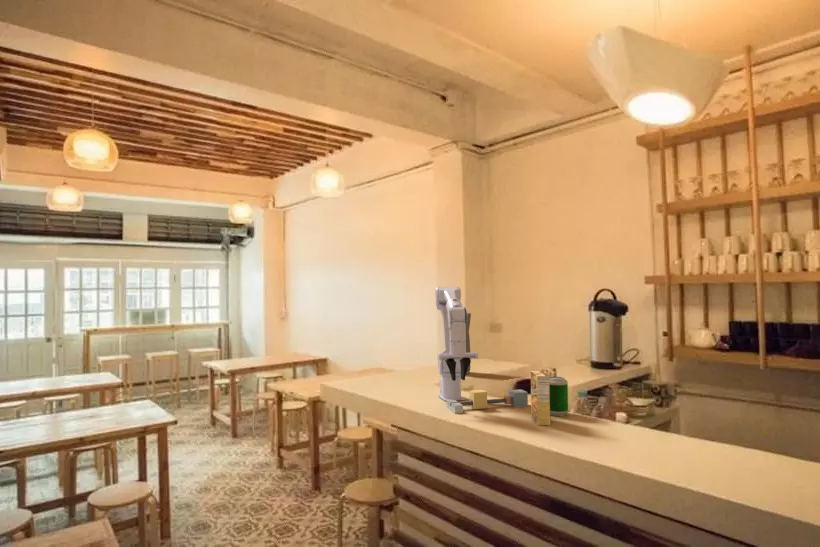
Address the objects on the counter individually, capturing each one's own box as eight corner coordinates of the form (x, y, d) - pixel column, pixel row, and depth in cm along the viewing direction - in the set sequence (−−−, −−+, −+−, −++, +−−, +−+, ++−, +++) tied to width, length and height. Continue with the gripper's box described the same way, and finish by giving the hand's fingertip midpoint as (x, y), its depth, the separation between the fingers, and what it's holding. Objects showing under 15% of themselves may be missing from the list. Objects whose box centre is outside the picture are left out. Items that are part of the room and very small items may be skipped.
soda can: (569, 417, 160) (568, 380, 160) (545, 416, 161) (545, 379, 161) (567, 411, 167) (566, 376, 167) (544, 410, 168) (543, 375, 169)
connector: (504, 404, 178) (504, 390, 178) (521, 403, 180) (520, 389, 180) (511, 407, 173) (510, 393, 174) (527, 406, 175) (527, 392, 175)
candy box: (530, 418, 159) (529, 370, 160) (543, 417, 159) (542, 370, 160) (537, 425, 150) (536, 375, 151) (551, 425, 150) (550, 375, 151)
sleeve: (469, 406, 174) (469, 390, 174) (482, 405, 175) (482, 389, 176) (474, 409, 170) (473, 392, 170) (487, 408, 172) (487, 391, 172)
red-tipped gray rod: (453, 409, 169) (453, 401, 169) (450, 407, 172) (450, 399, 172) (513, 404, 175) (513, 397, 175) (510, 402, 177) (510, 395, 178)
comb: (446, 407, 175) (446, 400, 175) (454, 406, 175) (454, 399, 175) (455, 413, 166) (454, 405, 166) (463, 412, 167) (463, 405, 167)
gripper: (441, 343, 166) (442, 383, 166) (481, 341, 170) (481, 380, 169) (435, 341, 173) (435, 379, 172) (473, 339, 177) (474, 377, 176)
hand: (458, 379), depth 171 cm, fingers open, 3 cm apart
